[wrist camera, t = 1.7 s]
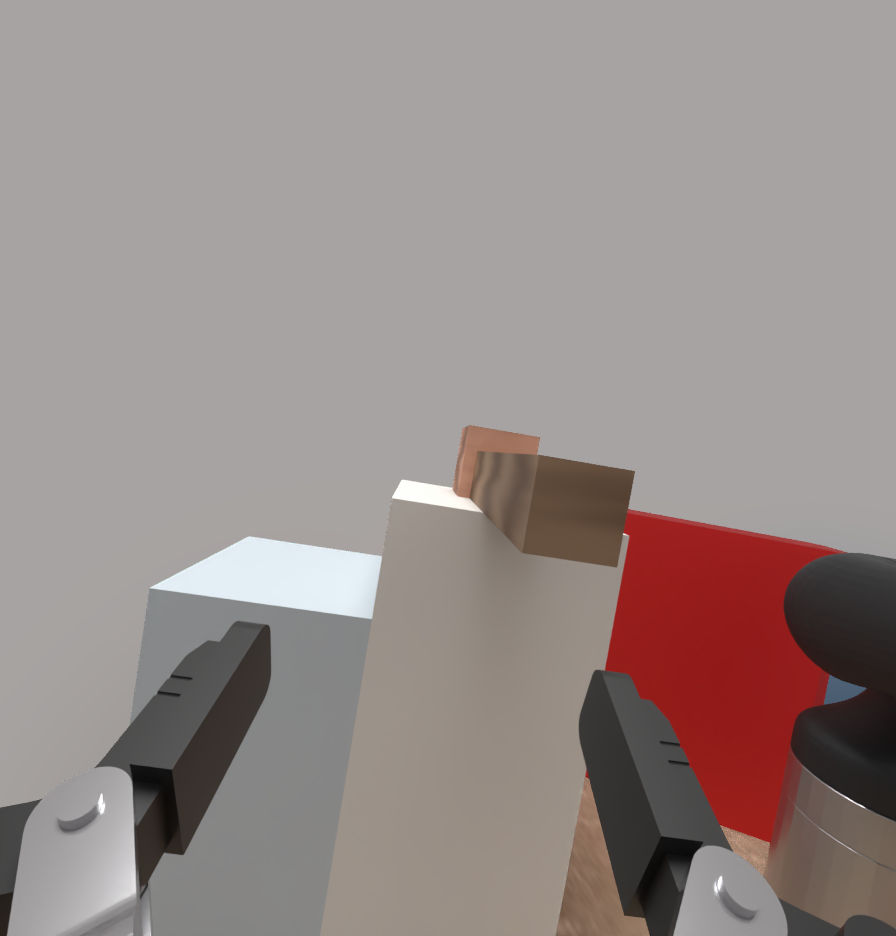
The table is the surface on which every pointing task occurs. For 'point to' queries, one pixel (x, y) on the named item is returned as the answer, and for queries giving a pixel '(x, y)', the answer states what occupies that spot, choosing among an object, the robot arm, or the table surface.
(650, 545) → the book
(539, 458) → the handled cube
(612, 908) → the table surface
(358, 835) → the riser
